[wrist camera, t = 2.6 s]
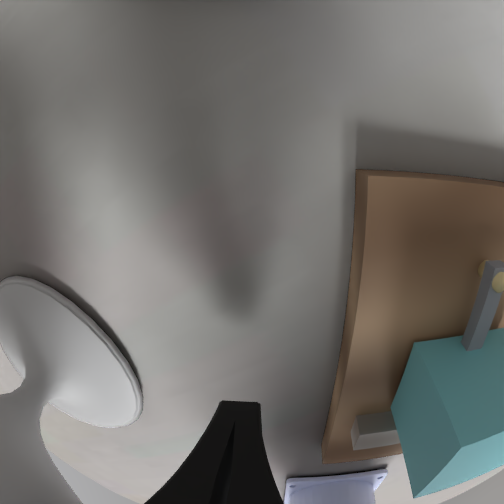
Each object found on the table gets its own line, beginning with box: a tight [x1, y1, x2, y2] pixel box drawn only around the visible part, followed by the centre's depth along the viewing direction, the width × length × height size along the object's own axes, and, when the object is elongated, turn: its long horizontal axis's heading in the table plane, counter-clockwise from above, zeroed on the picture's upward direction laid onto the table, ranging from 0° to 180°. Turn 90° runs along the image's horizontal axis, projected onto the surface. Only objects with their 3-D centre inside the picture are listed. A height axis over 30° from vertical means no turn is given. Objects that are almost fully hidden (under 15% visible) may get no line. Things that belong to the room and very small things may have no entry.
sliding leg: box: [390, 260, 504, 498], centre depth 7 cm, size 8×5×5 cm, turn 3°
